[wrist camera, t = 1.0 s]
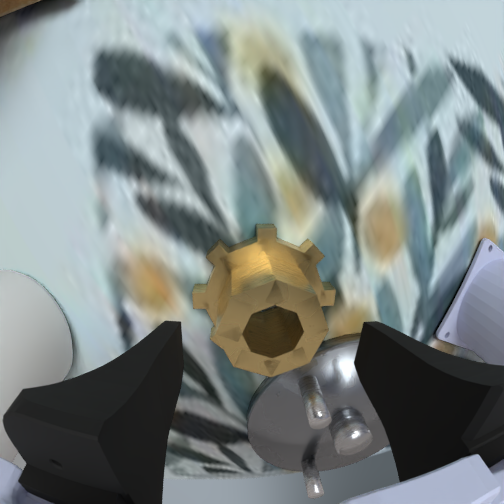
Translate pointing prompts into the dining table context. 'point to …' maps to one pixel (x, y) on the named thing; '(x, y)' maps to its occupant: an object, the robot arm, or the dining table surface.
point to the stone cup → (13, 5)
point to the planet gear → (266, 302)
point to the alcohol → (29, 343)
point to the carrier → (316, 415)
